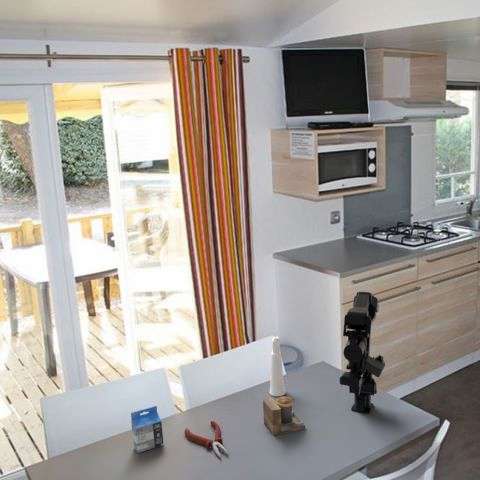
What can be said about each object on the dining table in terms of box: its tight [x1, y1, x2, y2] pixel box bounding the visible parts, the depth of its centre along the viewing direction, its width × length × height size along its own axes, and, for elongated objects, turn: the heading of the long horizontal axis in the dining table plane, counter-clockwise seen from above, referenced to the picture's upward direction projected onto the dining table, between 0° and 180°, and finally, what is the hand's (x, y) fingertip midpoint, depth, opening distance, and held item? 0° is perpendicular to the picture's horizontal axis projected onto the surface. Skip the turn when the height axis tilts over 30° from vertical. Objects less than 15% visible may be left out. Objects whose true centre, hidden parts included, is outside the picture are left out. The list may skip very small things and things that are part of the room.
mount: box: [262, 397, 306, 437], centre depth 192 cm, size 12×8×9 cm
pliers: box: [183, 420, 230, 459], centre depth 185 cm, size 12×20×3 cm, turn 27°
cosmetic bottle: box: [268, 336, 287, 397], centre depth 214 cm, size 6×6×22 cm
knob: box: [275, 396, 295, 427], centre depth 192 cm, size 5×6×8 cm
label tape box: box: [130, 405, 165, 454], centre depth 184 cm, size 9×4×12 cm, turn 118°
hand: (357, 395), depth 187 cm, fingers closed
